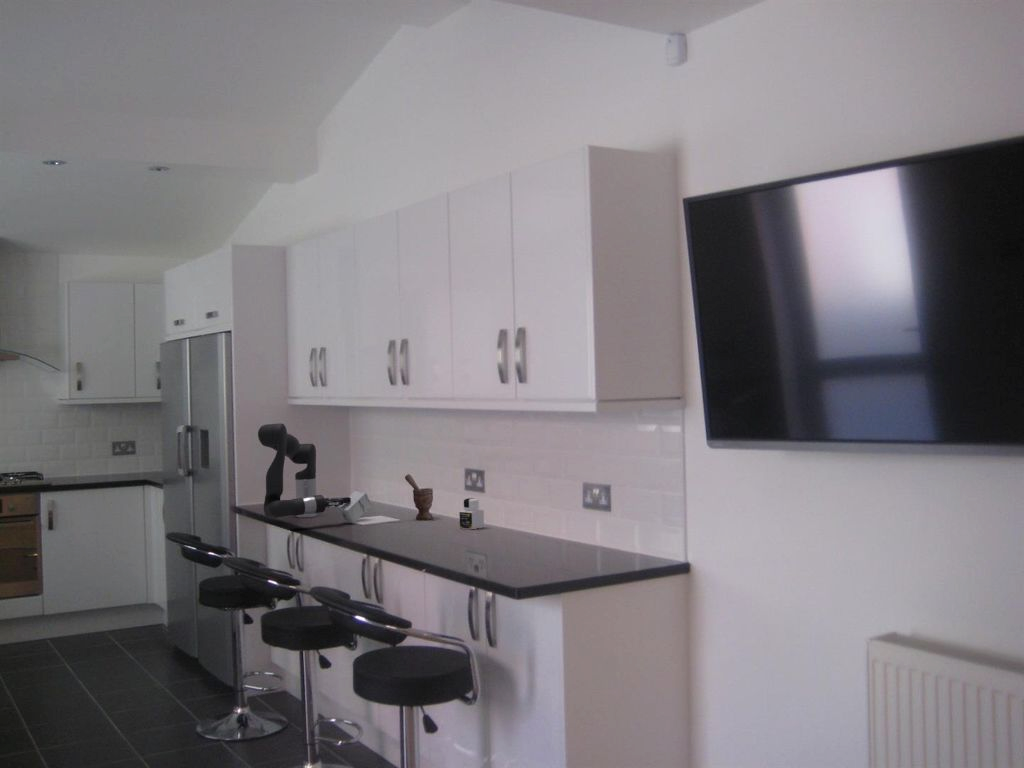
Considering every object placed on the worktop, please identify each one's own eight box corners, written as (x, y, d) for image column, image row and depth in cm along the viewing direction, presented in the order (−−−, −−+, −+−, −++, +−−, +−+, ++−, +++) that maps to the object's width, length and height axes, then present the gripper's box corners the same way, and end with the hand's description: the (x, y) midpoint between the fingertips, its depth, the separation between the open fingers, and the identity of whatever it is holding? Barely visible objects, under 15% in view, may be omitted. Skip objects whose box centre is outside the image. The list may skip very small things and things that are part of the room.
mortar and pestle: (414, 521, 450) (412, 475, 450) (404, 520, 457) (402, 474, 457) (437, 519, 457) (435, 473, 457) (427, 517, 464) (425, 472, 464)
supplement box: (347, 510, 446) (366, 492, 454) (335, 508, 451) (354, 490, 459) (354, 523, 449) (372, 505, 457) (342, 521, 454) (361, 503, 462)
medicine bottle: (459, 528, 425) (458, 499, 425) (472, 526, 431) (471, 497, 431) (472, 529, 421) (471, 500, 420) (484, 527, 426) (483, 498, 426)
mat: (343, 521, 460) (343, 519, 460) (381, 516, 470) (381, 515, 470) (362, 525, 443) (362, 524, 443) (401, 521, 453) (401, 519, 453)
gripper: (317, 497, 436) (355, 492, 446) (305, 494, 447) (343, 490, 457) (318, 515, 437) (357, 509, 446) (306, 512, 448) (344, 507, 457)
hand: (349, 499), depth 451 cm, fingers closed
